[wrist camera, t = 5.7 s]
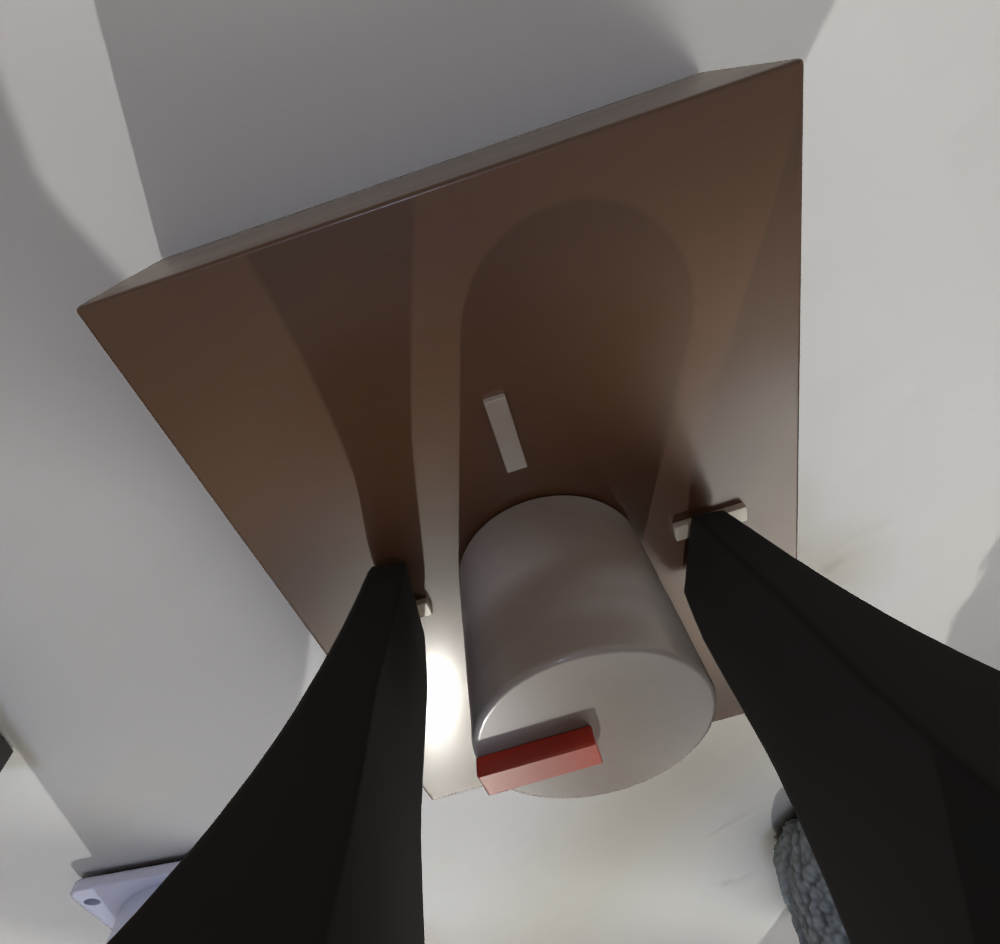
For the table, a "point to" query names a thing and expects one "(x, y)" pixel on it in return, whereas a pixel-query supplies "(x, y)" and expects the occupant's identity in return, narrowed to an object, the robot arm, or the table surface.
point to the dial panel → (496, 358)
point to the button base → (4, 752)
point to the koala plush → (806, 889)
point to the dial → (574, 654)
